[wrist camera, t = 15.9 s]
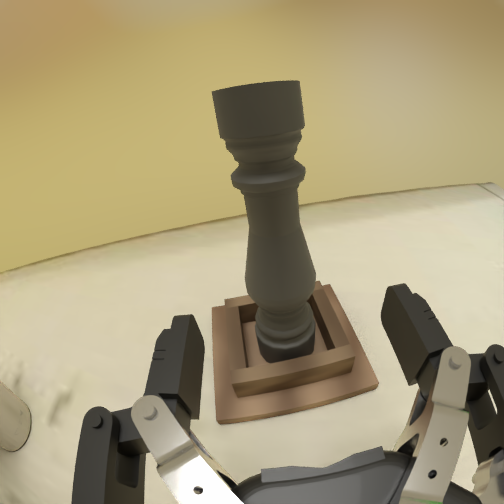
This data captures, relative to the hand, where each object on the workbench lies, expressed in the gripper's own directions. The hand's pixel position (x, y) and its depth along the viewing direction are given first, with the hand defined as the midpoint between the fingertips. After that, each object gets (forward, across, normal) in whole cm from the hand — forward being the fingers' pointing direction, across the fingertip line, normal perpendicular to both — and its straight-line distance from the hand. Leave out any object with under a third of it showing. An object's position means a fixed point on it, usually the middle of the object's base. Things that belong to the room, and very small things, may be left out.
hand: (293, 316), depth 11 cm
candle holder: (+11, 0, +16) cm, 20 cm away
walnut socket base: (+11, 0, +18) cm, 21 cm away
